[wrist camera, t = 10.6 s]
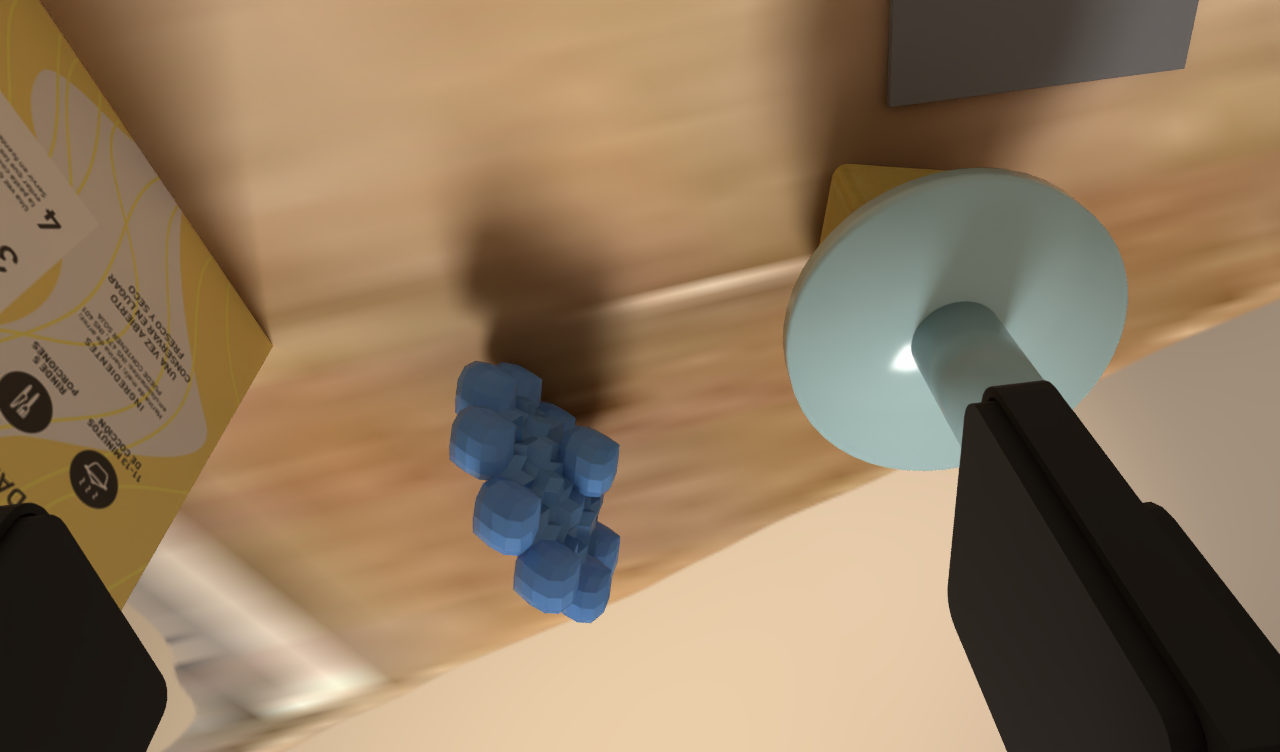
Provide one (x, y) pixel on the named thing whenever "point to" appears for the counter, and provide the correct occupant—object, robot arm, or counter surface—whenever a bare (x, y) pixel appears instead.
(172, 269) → the pasta box
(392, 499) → the counter surface
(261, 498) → the counter surface
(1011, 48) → the mat
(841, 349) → the lid
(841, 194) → the flower pot
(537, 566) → the grapes
